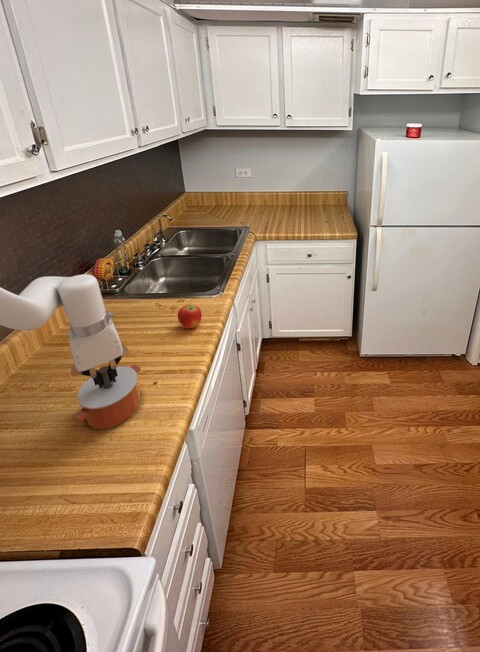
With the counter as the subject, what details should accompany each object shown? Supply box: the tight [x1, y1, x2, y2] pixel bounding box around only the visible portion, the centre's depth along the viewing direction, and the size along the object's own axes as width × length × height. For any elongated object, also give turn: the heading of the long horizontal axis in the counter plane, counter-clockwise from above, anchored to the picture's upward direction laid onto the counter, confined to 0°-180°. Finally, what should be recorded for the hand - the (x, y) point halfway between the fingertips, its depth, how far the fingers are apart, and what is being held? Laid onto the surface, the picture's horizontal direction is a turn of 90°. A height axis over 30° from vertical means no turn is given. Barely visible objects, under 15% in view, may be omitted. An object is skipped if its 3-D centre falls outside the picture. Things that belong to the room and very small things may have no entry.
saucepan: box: [72, 364, 142, 430], centre depth 89 cm, size 13×18×7 cm
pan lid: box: [76, 365, 138, 409], centre depth 86 cm, size 14×14×7 cm
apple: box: [177, 302, 203, 329], centre depth 121 cm, size 8×8×10 cm
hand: (107, 381), depth 87 cm, fingers closed on pan lid, 2 cm apart
